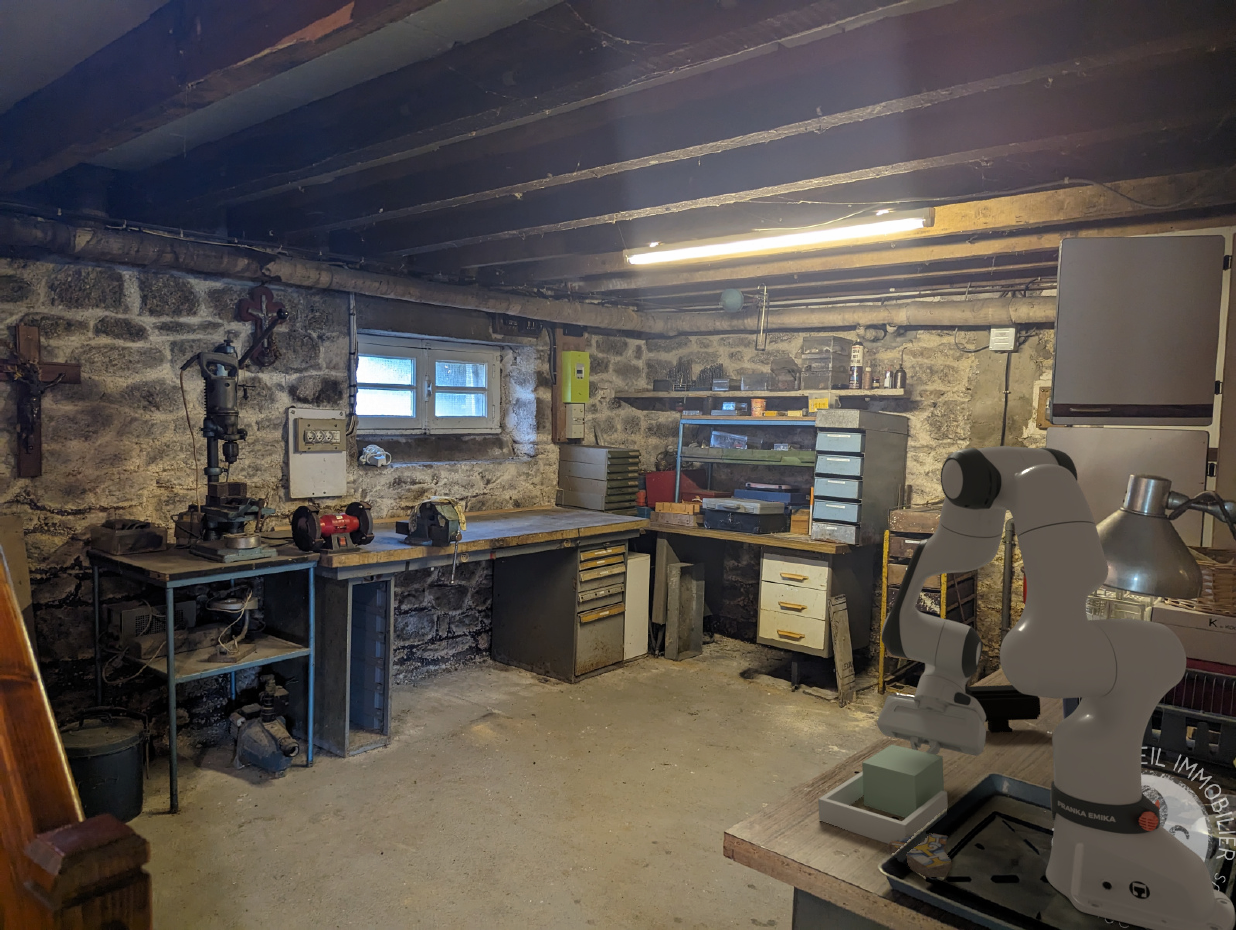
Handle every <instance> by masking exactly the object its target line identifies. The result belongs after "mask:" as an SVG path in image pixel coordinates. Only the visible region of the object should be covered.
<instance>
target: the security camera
mask: <svg viewBox="0 0 1236 930" xmlns="http://www.w3.org/2000/svg"><path fill="white" fill-rule="evenodd" d="M965 694H968V695H970V696H972V697H974V698H975V699H977V701H978V702H979V703H980V705H981V706H982V708H983V710H984V712H985V715H986V720H985V722H984V723H983V724H984V725H985V723H987V730H988V731H989V732H991V733H992V734H997V733H998V734H1001V733H1003V734H1005V733H1013V728H1012V727H1010V722H1009V721H1024V720H1027V721H1028V720H1038V718H1039V717H1040V715H1041V698H1040V697H1039V696H1033V695H1027V694H1023V693H1021V692H1019V691H1018V690H1017V689H1016V688H1014V687H1013V686H1012V684H1007V685H1005V684H1004V685H1001V684H1000V685H972V686H966V685H965Z"/></svg>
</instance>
